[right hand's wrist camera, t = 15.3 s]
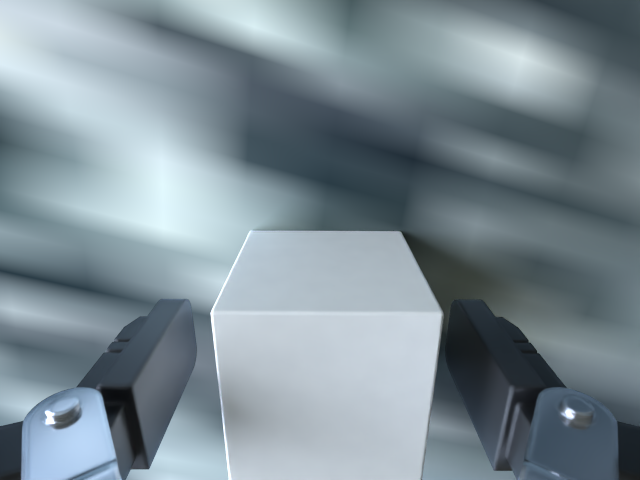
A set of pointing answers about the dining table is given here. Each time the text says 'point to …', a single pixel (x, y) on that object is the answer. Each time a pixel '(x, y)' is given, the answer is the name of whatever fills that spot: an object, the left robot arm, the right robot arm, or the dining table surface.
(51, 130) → the dining table surface
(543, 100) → the dining table surface
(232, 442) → the block
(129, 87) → the dining table surface
